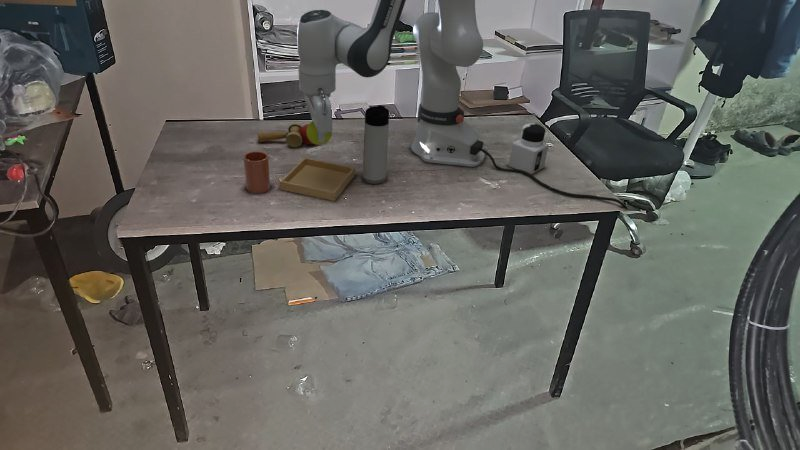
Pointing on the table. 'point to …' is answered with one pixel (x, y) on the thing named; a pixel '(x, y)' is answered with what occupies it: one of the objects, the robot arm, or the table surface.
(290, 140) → the kendama
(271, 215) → the table surface
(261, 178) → the cup
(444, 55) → the robot arm
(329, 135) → the tennis ball
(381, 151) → the travel mug
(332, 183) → the tray
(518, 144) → the container
